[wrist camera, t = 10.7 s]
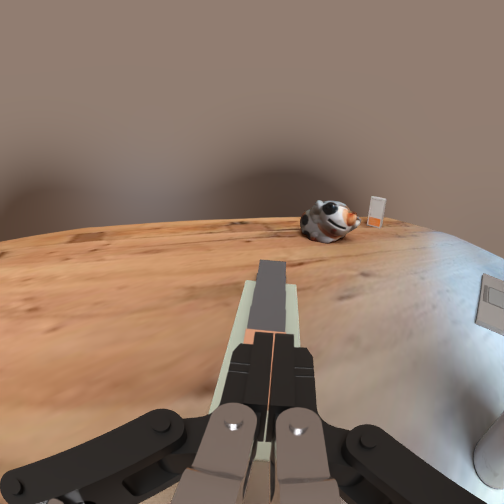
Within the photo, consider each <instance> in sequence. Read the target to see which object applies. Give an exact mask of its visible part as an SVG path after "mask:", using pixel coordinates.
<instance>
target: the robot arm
mask: <svg viewBox="0 0 504 504" xmlns="http://www.w3.org/2000/svg"><path fill="white" fill-rule="evenodd" d="M273 335H274V333H268V332H255V334H254V341H253V344H243V343H240V344H239V345H238V346H237V347H236V348H235V349H234V351H233V352H232V356H231V360H230V365H229V369H228V373H227V377H226V381H225V385H224V389H223V393H222V397H221V401H220V404H219V406H218V407H217V408H216V409H215V410H214V411H213V412H212V413H210V414H208V415H206V416H203V417H197V418H186V419H182V418H181V417H180V415H178V414H177V413H176V412H174V411H172V410H168V409H156V410H152V411H150V412H148V413H146V414H144V415H142V416H140V417H138V418H136V419H134V420H132V421H130V422H128V423H126V424H124V425H122V426H120V427H118V428H116V429H114V430H112V431H110V432H107V433H105V434H103V435H101V436H99V437H96V438H94V439H92V440H90V441H87V442H85V443H83V444H80V445H78V446H76V447H73V448H71V449H68V450H66V451H64V452H61V453H58V454H56V455H53V456H51V457H48V458H45V459H43V460H40V461H37V462H34V463H31V464H28V465H25V466H22V467H19V468H16V469H13V470H10V471H8V472H6V473H5V474H4V475H3V476H2V478H1V481H0V490H1V494H2V496H3V498H4V499H5V500H6V502H7V503H9V504H138V503H140V502H142V501H144V500H146V499H148V498H150V497H152V496H154V495H156V494H157V493H159V492H161V491H163V490H165V489H166V488H168V487H170V486H172V485H173V484H175V483H177V482H178V481H179V484H178V486H177V489H176V491H175V494H174V496H173V499H172V501H171V504H243V503H244V499H245V495H246V491H247V487H248V482H249V478H250V474H251V470H252V465H253V461H254V458H255V456H256V452H257V444H258V442H263V441H264V433H265V425H266V417H267V408H268V418H267V429H266V440H265V442H271V451H270V458H269V504H341V503H340V497H341V498H342V499H343V500H344V501H345V502H346V503H348V504H487V503H486V502H484V501H482V500H481V499H479V498H478V497H476V496H474V495H473V494H471V493H470V492H468V491H467V490H465V489H464V488H462V487H461V486H459V485H458V484H456V483H455V482H453V481H452V480H450V479H449V478H447V477H446V476H445V475H443V474H442V473H440V472H439V471H437V470H436V469H435V468H433V467H432V466H430V465H429V464H428V463H426V462H425V461H423V460H422V459H421V458H419V457H418V456H417V455H415V454H414V453H413V452H411V451H410V450H409V449H407V448H406V447H405V446H403V445H402V444H401V443H399V442H398V441H397V440H395V439H394V438H393V437H391V436H390V435H389V434H388V433H386V432H385V431H384V430H382V429H381V428H379V427H377V426H374V425H369V424H365V425H360V426H357V427H355V428H353V429H352V430H351V431H349V430H345V429H341V428H337V427H334V426H331V425H329V424H327V423H326V422H324V421H323V420H322V419H321V417H320V416H319V414H318V412H317V405H316V391H315V378H314V369H313V368H314V366H313V357H312V355H311V354H310V352H309V351H308V349H307V348H302V347H294V334H283V333H275V340H274V351H273V361H272V349H273ZM271 362H272V371H271ZM270 374H271V384H270ZM269 386H270V396H269ZM268 398H269V407H268ZM474 464H475V469H476V471H477V473H478V475H479V477H480V478H481V480H482V481H483V482H484V483H485V484H487V485H488V486H490V487H492V488H496V489H504V412H503V413H502V414H501V415H500V417H499V418H498V419H497V420H496V422H495V423H494V424H493V425H492V426H491V428H490V429H489V430H488V431H487V432H486V433H485V435H484V436H483V437H482V438H481V439H480V440H479V442H478V443H477V445H476V448H475V452H474Z"/></svg>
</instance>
